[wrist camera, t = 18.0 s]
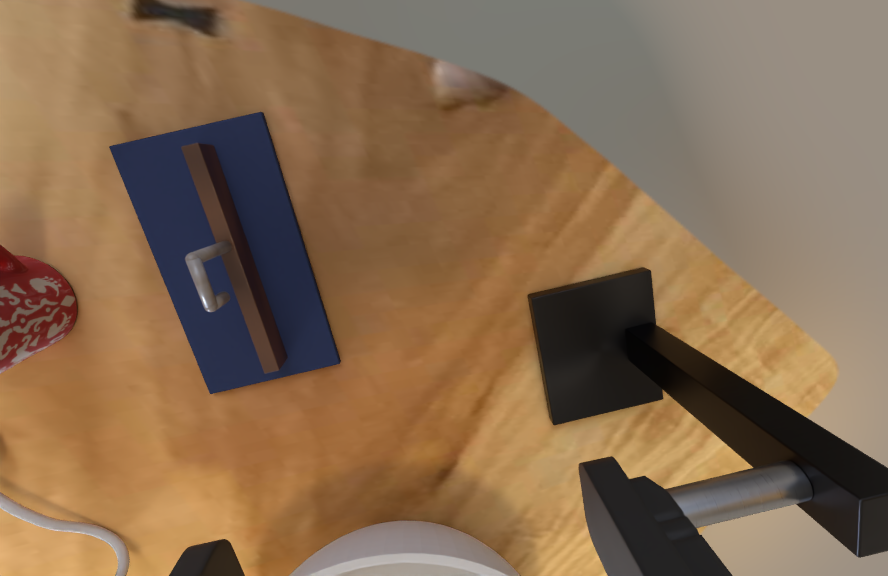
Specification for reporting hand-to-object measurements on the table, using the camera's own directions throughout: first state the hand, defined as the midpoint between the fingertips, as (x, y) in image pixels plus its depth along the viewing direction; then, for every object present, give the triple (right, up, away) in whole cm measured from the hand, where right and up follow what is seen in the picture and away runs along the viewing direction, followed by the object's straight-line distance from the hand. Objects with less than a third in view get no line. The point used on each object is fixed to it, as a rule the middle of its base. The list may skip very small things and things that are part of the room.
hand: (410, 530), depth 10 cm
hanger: (-14, +8, +24) cm, 29 cm away
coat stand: (+14, 0, +28) cm, 31 cm away
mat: (-15, +7, +24) cm, 30 cm away
